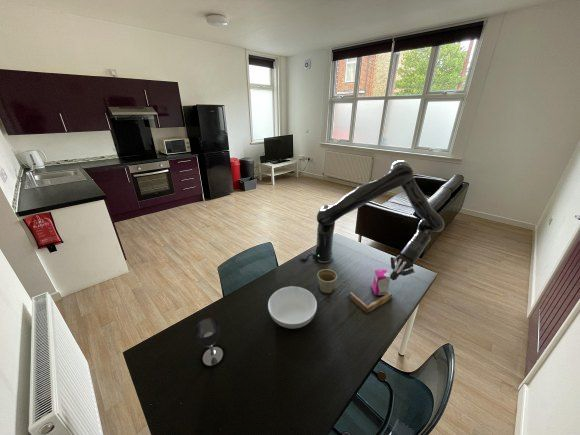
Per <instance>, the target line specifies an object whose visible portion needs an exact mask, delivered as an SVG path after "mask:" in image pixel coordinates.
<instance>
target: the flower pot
mask: <svg viewBox="0 0 580 435" xmlns="http://www.w3.org/2000/svg"><path fill="white" fill-rule="evenodd" d="M317 278H318V282H319V290H320V291H321V292H322V293H325V294H330V293H332V292H333V290H334V287H335V283H336V281H337V278H338V274H337V272H336V271H334V270H332V269H329V268H328V269H327V268H324V269H321V270H319V271H318V272H317Z"/></svg>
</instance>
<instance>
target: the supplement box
mask: <svg viewBox="0 0 580 435" xmlns="http://www.w3.org/2000/svg"><path fill="white" fill-rule="evenodd" d="M390 275H391V274H390V273H389V270H388V269H376V268H375V269H374V275H373V280H372V285H371V287H372V291H373V295H374V296H375V297H383V296H385V295H387V294H389V293H388V292H389V287H390V282H391V281H390V280H391V278H390Z"/></svg>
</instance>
